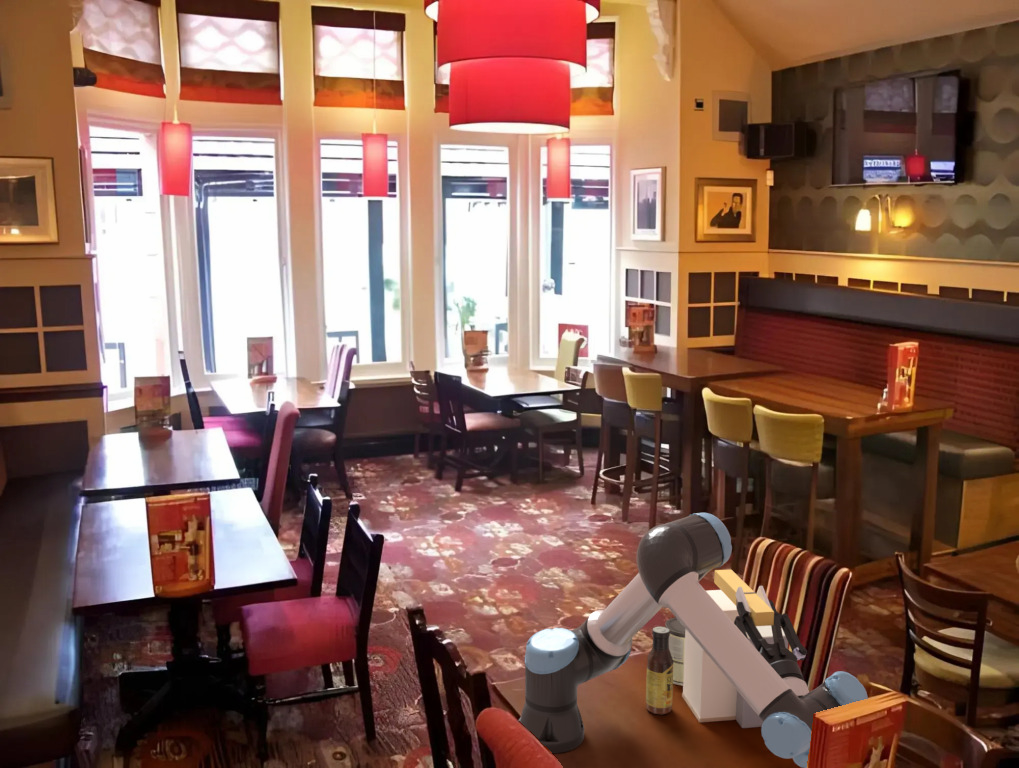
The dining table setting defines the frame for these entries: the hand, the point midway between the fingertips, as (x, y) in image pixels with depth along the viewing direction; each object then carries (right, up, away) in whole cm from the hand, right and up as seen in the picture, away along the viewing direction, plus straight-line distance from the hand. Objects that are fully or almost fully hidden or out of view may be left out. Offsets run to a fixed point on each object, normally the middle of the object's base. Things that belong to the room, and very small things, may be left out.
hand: (749, 590), depth 198 cm
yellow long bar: (0, -4, +4) cm, 5 cm away
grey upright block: (+6, -33, +20) cm, 39 cm away
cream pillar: (-4, -33, +22) cm, 40 cm away
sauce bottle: (-16, -33, +21) cm, 43 cm away
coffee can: (-7, -31, +37) cm, 49 cm away
